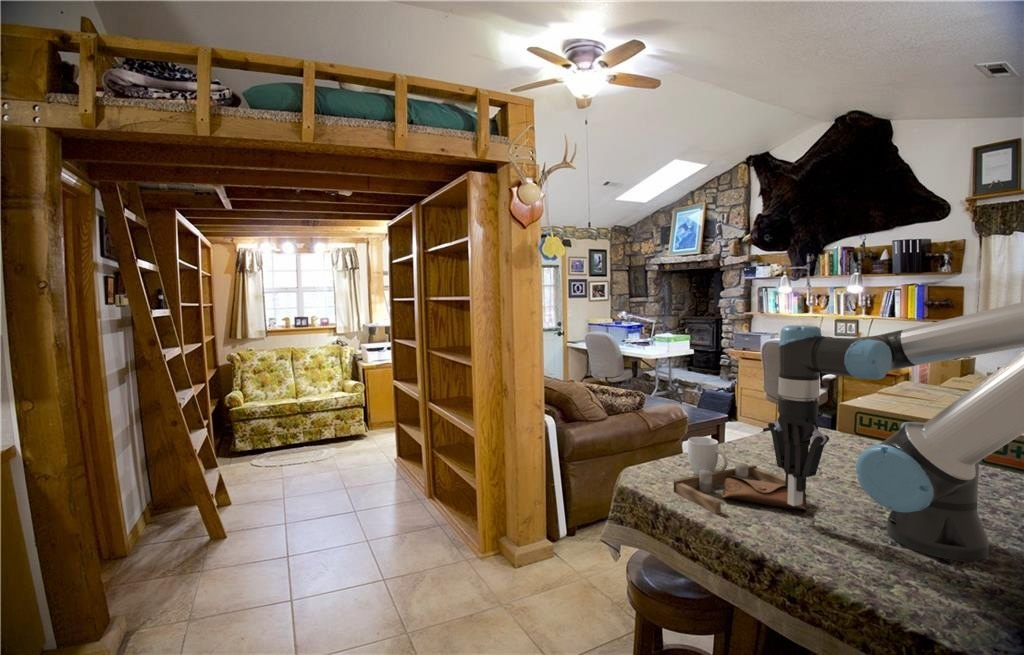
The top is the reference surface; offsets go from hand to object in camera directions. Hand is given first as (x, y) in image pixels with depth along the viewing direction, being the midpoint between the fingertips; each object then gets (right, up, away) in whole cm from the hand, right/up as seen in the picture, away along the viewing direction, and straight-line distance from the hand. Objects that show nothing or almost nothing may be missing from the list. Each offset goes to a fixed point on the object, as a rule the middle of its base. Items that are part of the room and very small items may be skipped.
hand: (794, 503), depth 107 cm
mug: (-8, -2, +28) cm, 29 cm away
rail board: (-6, -3, +15) cm, 17 cm away
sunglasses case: (-3, -4, +8) cm, 9 cm away
